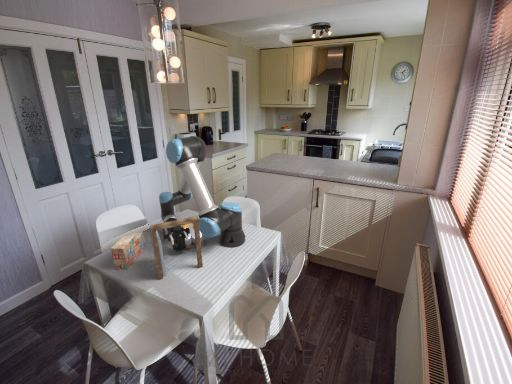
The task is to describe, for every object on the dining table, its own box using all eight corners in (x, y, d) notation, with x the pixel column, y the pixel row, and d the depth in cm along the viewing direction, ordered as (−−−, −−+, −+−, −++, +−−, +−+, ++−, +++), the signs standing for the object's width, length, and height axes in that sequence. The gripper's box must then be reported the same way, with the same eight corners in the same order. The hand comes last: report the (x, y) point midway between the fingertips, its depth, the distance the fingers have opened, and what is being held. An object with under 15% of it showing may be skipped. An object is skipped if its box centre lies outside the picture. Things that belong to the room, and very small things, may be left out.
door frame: (201, 264, 136) (197, 215, 126) (202, 267, 134) (198, 217, 125) (158, 277, 127) (149, 225, 118) (158, 279, 125) (150, 227, 116)
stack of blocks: (134, 246, 153) (131, 227, 149) (145, 247, 153) (142, 227, 149) (115, 269, 133) (110, 248, 129) (127, 270, 133) (123, 248, 128)
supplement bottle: (172, 252, 141) (169, 232, 137) (173, 246, 147) (170, 226, 143) (186, 250, 143) (183, 230, 139) (186, 244, 149) (183, 224, 145)
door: (156, 260, 139) (151, 229, 133) (161, 259, 140) (156, 228, 134) (160, 276, 127) (155, 242, 120) (166, 274, 128) (161, 241, 121)
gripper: (188, 225, 163) (199, 242, 144) (154, 232, 155) (161, 251, 136) (187, 214, 161) (198, 229, 141) (153, 221, 152) (159, 238, 133)
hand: (180, 240), depth 139 cm, fingers closed on supplement bottle, 7 cm apart
